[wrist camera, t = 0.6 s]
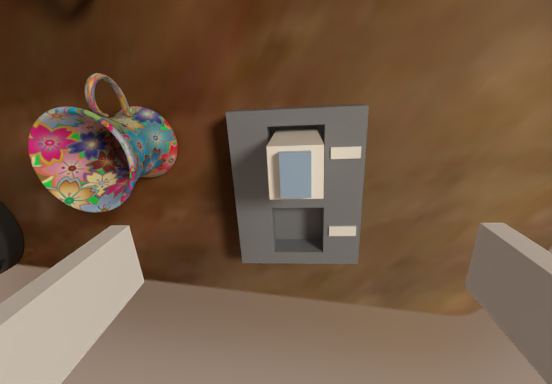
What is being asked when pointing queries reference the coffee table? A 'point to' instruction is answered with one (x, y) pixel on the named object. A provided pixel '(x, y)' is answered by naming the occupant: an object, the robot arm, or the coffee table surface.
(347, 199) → the panel
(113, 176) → the mug
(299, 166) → the plug
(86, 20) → the coffee table surface
